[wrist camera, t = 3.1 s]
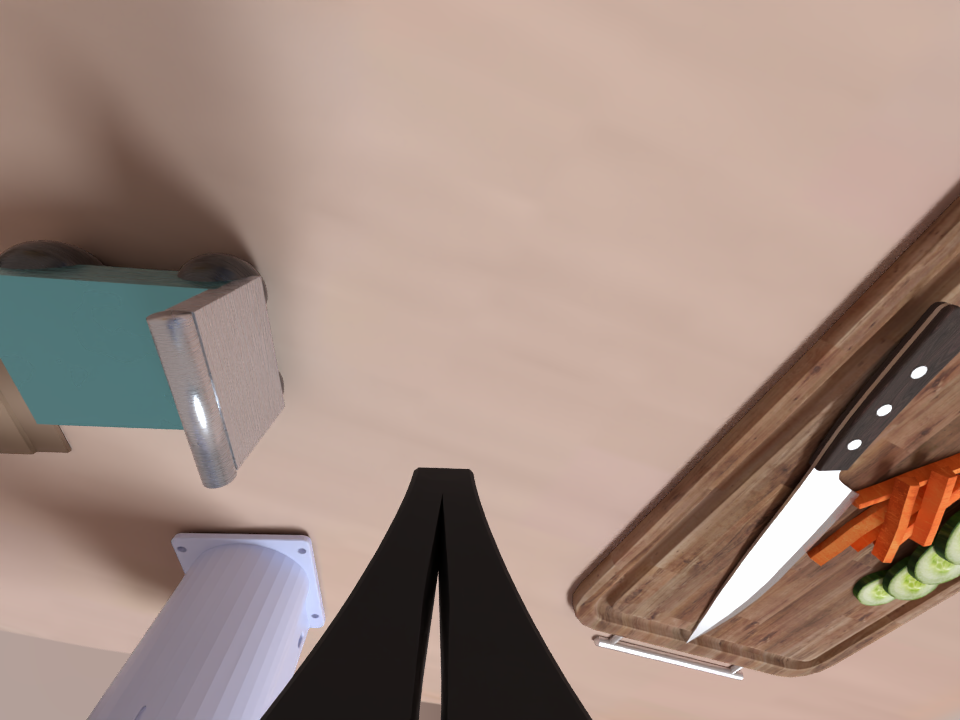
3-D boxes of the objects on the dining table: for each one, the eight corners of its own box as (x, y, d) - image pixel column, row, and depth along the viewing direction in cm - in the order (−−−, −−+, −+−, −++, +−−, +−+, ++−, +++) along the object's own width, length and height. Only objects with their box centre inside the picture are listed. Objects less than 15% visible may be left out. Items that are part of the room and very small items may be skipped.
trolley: (302, 399, 19) (231, 503, 13) (106, 391, 18) (-63, 496, 12) (279, 249, 15) (168, 298, 10) (36, 231, 15) (-243, 272, 9)
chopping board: (772, 678, 36) (797, 719, 33) (536, 619, 30) (544, 665, 27) (1455, 255, 18) (1626, 270, 16) (1242, -116, 12) (1471, -199, 9)
